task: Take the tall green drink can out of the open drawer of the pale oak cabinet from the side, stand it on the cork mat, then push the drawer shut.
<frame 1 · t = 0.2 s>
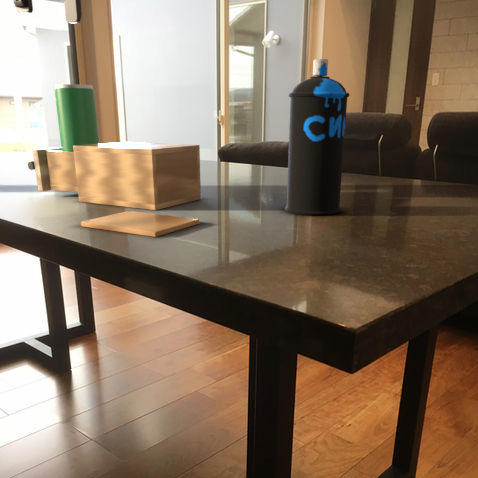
hand: (50, 18, 71), 25 cm above the table, tool pointing down, fingers open, 8 cm apart
cabinet: (140, 200, 85), on the table
cork mat: (140, 225, 67), on the table
green can: (84, 182, 90), point 2 cm above the table, touching drawer
aerosol can: (312, 211, 77), on the table
drawer: (81, 169, 89), point 4 cm above the table, slide at 9.0 cm, touching green can
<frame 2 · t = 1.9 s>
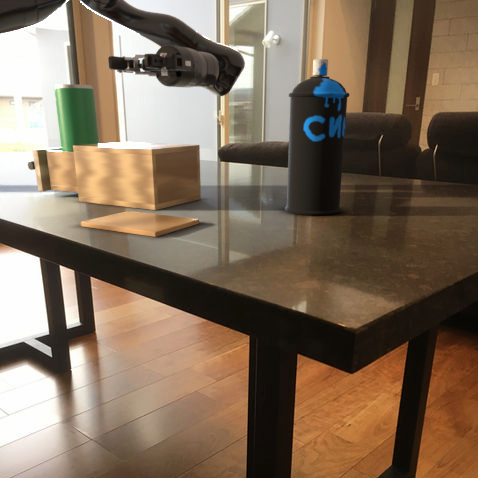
hand: (127, 61, 93), 22 cm above the table, tool horizontal, fingers open, 8 cm apart
nothing on the table moved.
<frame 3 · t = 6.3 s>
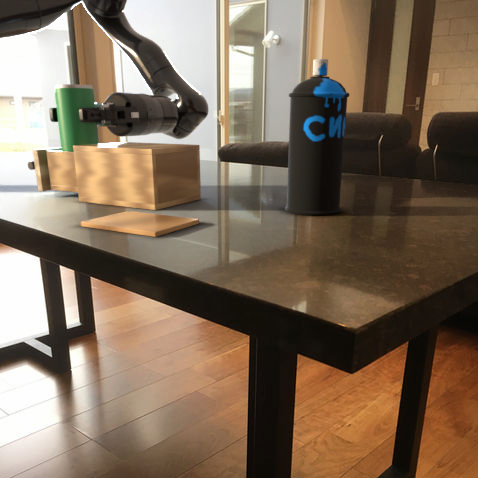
hand: (66, 115, 84), 13 cm above the table, tool horizontal, fingers closed on green can, 6 cm apart
green can: (84, 182, 90), point 2 cm above the table, touching drawer, gripper
everything else where it was.
when the fingers open (12 cm above the table, at t = 16.3 s): green can stays where it is, resting on cork mat.
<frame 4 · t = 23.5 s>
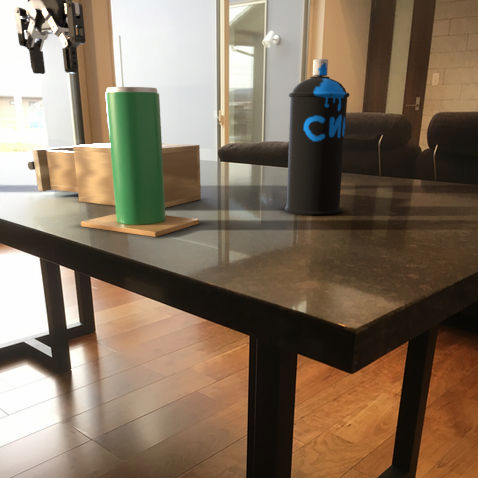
hand: (54, 73, 91), 20 cm above the table, tool pointing down, fingers open, 7 cm apart
green can: (141, 220, 66), point 1 cm above the table, touching cork mat
drawer: (81, 169, 89), point 4 cm above the table, slide at 9.0 cm
everything else where it was.
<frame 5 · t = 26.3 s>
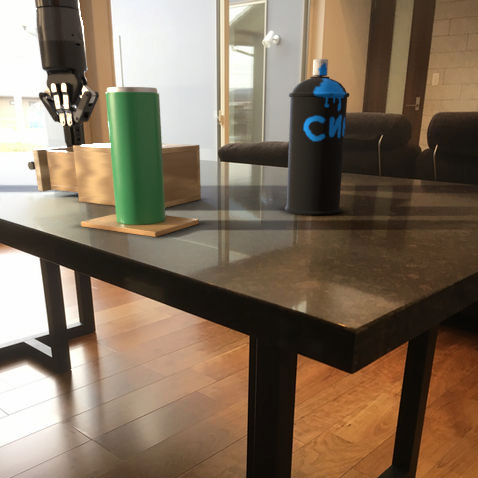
hand: (74, 147, 95), 7 cm above the table, tool pointing down, fingers closed
drawer: (81, 169, 89), point 4 cm above the table, slide at 9.0 cm, touching gripper
everything else where it was.
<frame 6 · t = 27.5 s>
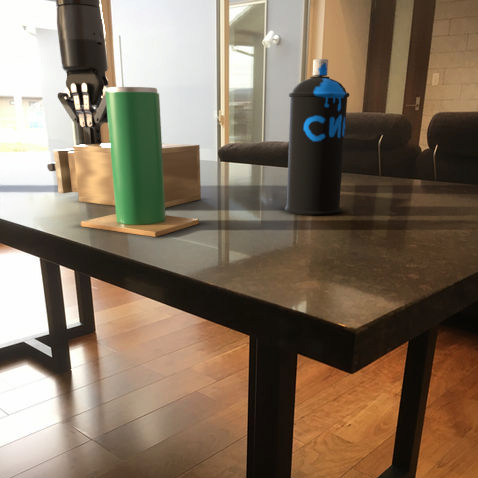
hand: (93, 149, 92), 7 cm above the table, tool pointing down, fingers closed
drawer: (102, 170, 87), point 4 cm above the table, slide at 4.0 cm, touching gripper
everything else where it was.
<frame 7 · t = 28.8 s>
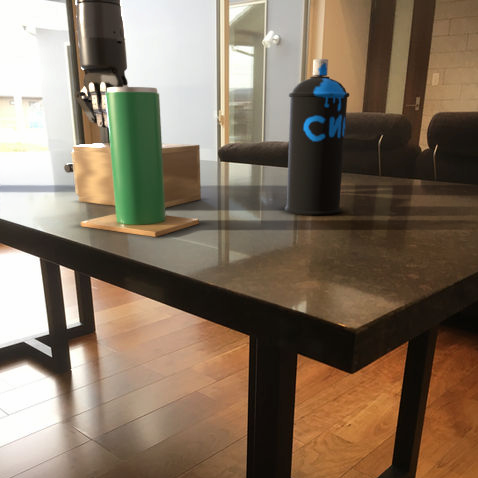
hand: (110, 149, 91), 7 cm above the table, tool pointing down, fingers closed
drawer: (120, 172, 85), point 4 cm above the table, slide at 0.0 cm, touching cabinet, gripper
everything else where it was.
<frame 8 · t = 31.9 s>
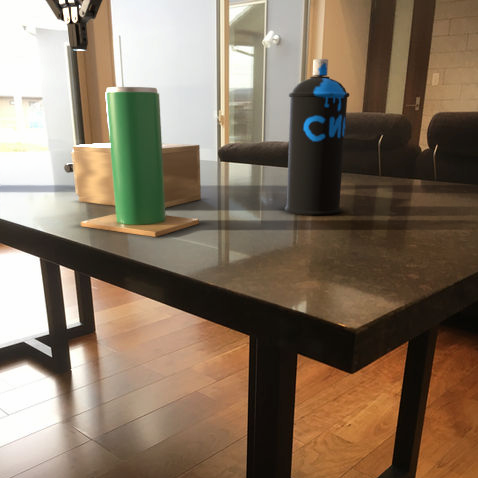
hand: (79, 49, 86), 23 cm above the table, tool pointing down, fingers closed
drawer: (120, 172, 85), point 4 cm above the table, slide at 0.0 cm
everything else where it was.
at the end: green can inside the target area on the cork mat (0.2 cm from its centre), point 0.6 cm above the cork mat's base; green can tilted 0°; drawer slide at 0.0 cm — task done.
